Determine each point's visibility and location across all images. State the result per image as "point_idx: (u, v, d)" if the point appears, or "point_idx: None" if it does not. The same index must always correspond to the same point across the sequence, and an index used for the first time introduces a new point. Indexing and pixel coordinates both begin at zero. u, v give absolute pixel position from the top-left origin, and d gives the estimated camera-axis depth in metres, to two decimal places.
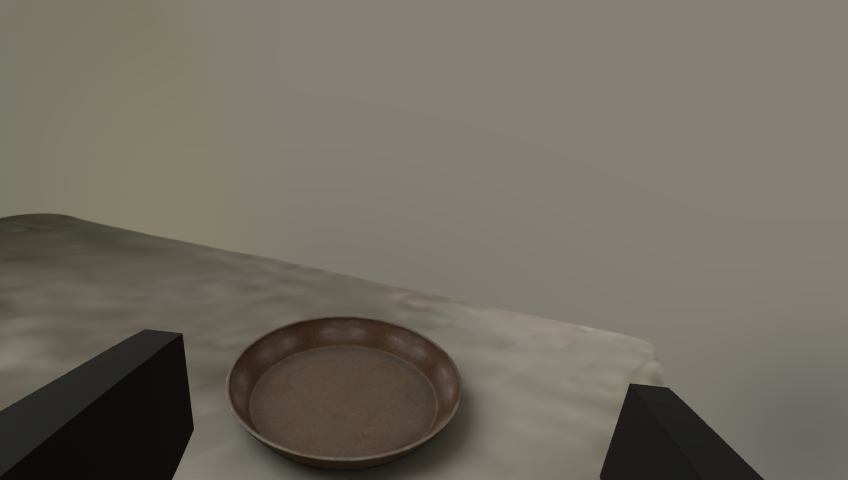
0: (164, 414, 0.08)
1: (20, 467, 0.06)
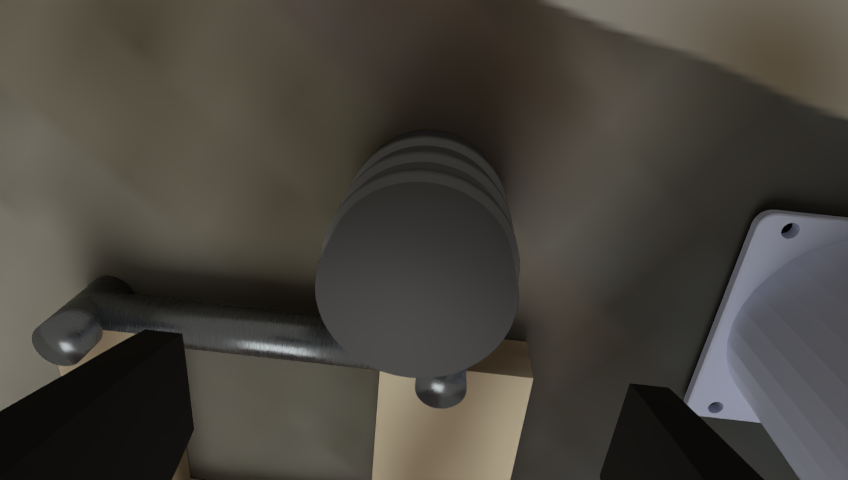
0: (164, 414, 0.08)
1: (21, 466, 0.06)
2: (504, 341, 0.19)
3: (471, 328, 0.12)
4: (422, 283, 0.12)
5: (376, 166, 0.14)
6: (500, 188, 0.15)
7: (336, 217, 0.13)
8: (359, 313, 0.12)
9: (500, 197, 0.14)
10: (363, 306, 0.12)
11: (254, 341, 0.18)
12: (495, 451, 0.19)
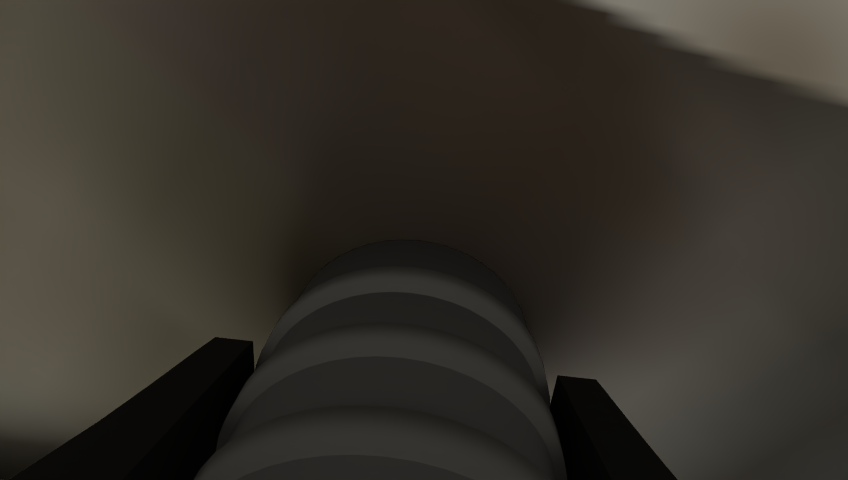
0: None
1: None
2: None
3: None
4: None
5: (289, 360, 0.07)
6: (535, 364, 0.08)
7: None
8: None
9: (543, 420, 0.07)
10: None
11: None
12: None
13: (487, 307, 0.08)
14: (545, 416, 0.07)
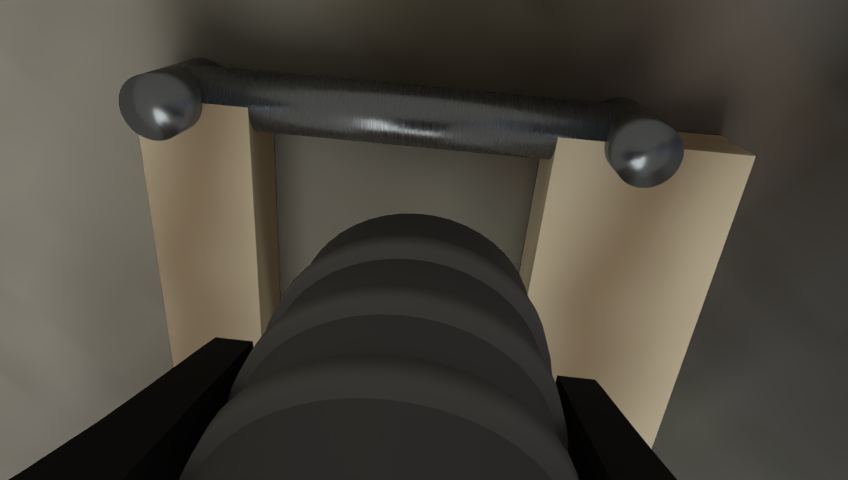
0: None
1: None
2: (695, 134, 0.15)
3: None
4: None
5: (310, 313, 0.07)
6: (541, 341, 0.09)
7: (204, 446, 0.06)
8: None
9: (551, 389, 0.07)
10: None
11: (396, 114, 0.14)
12: (688, 268, 0.15)
13: (500, 281, 0.08)
14: (553, 386, 0.07)
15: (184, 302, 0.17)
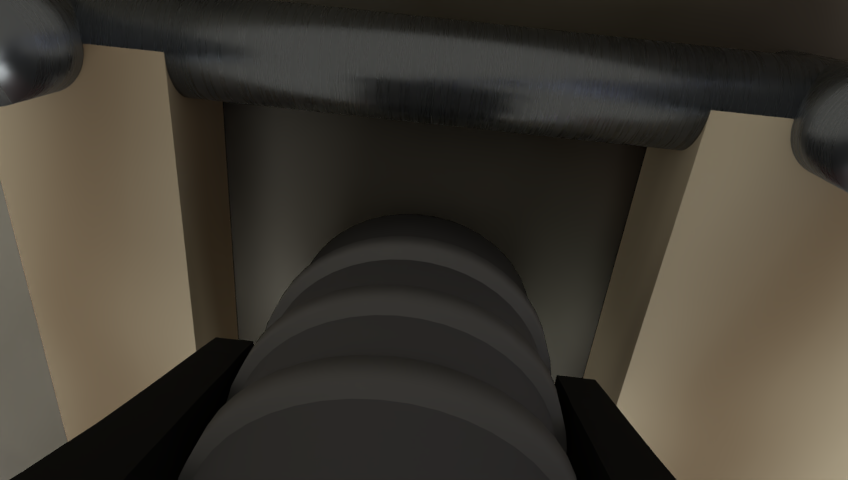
0: None
1: (130, 479, 0.06)
2: None
3: None
4: None
5: (310, 314, 0.07)
6: (541, 342, 0.09)
7: (203, 446, 0.06)
8: None
9: (550, 391, 0.07)
10: None
11: (426, 66, 0.08)
12: None
13: (500, 282, 0.08)
14: (552, 388, 0.07)
15: (81, 371, 0.11)
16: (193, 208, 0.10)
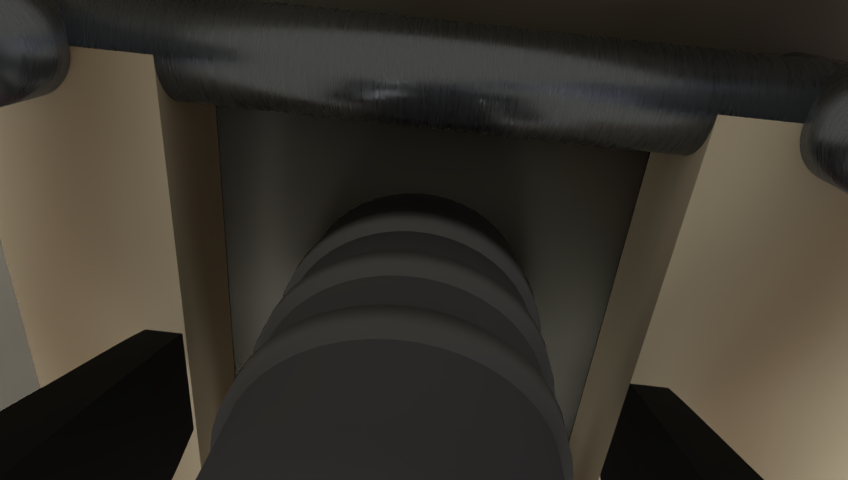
0: (164, 414, 0.08)
1: (21, 468, 0.06)
2: None
3: None
4: None
5: (327, 275, 0.08)
6: (531, 306, 0.09)
7: (239, 384, 0.07)
8: None
9: (539, 343, 0.08)
10: None
11: (424, 69, 0.08)
12: None
13: (495, 251, 0.09)
14: (541, 341, 0.08)
15: None
16: (185, 215, 0.09)
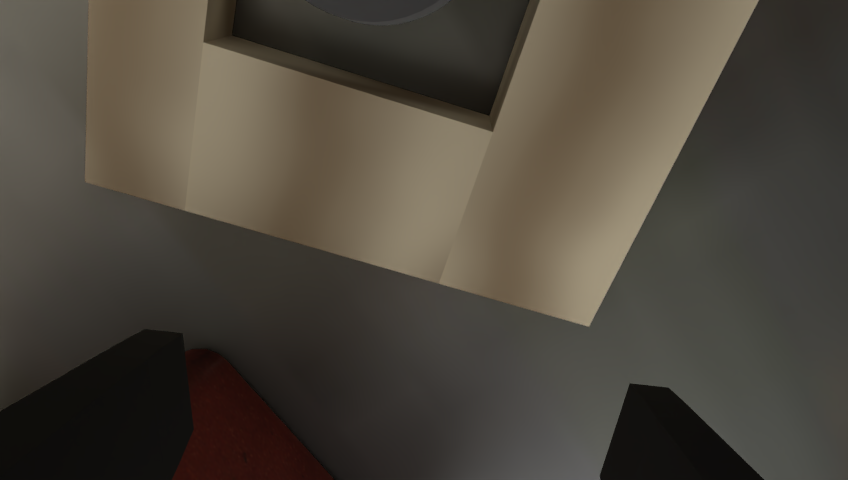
0: (164, 414, 0.08)
1: (21, 467, 0.06)
2: None
3: None
4: None
5: None
6: None
7: None
8: None
9: None
10: None
11: None
12: None
13: None
14: None
15: None
16: None
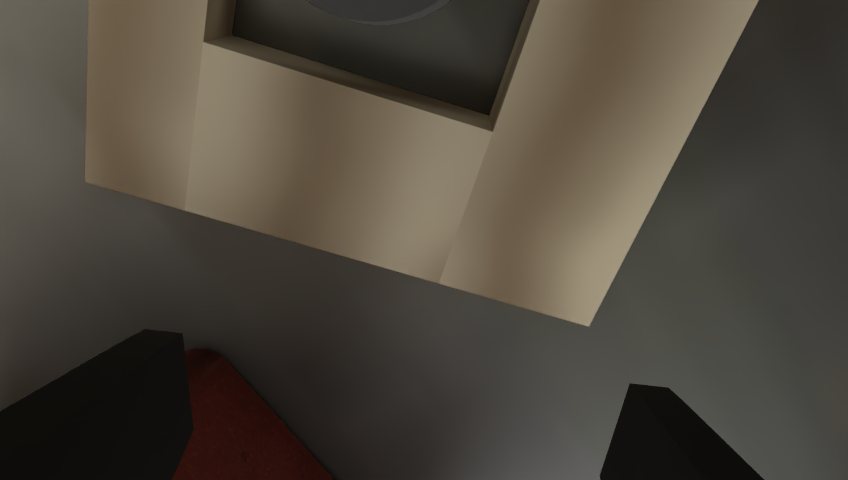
0: (164, 414, 0.08)
1: (20, 468, 0.06)
2: None
3: None
4: None
5: None
6: None
7: None
8: None
9: None
10: None
11: None
12: None
13: None
14: None
15: None
16: None
